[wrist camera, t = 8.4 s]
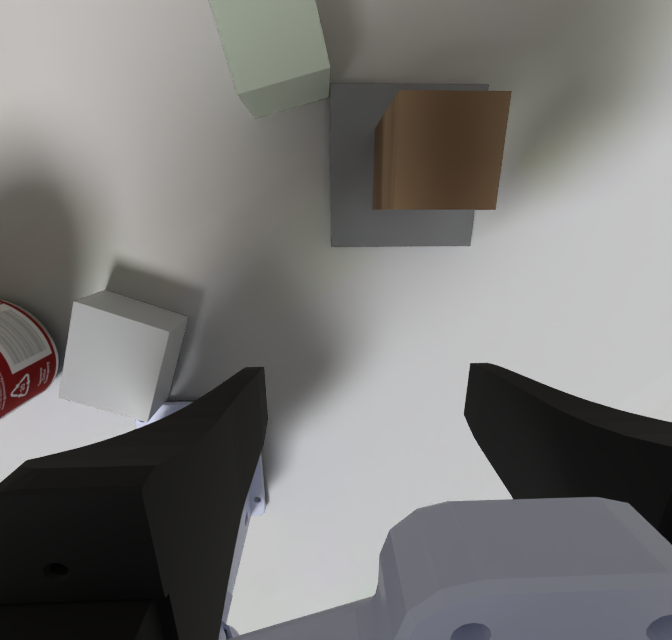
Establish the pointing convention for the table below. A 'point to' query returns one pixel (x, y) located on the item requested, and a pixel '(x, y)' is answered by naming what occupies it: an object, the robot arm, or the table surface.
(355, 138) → the slate coaster
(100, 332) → the grey plastic box
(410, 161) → the walnut block
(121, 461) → the robot arm
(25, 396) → the soda can
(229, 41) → the sage block
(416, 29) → the table surface
